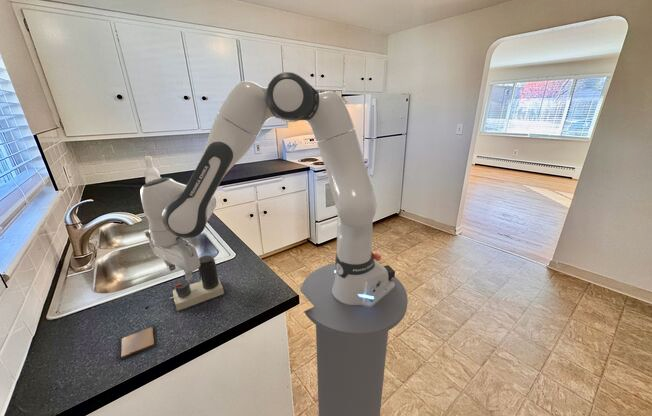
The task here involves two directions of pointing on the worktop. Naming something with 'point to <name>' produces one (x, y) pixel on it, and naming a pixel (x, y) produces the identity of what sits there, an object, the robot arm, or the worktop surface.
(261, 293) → the worktop surface
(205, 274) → the jar
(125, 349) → the trivet
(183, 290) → the knob
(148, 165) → the bottle
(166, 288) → the worktop surface
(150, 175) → the milk
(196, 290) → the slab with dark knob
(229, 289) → the worktop surface
